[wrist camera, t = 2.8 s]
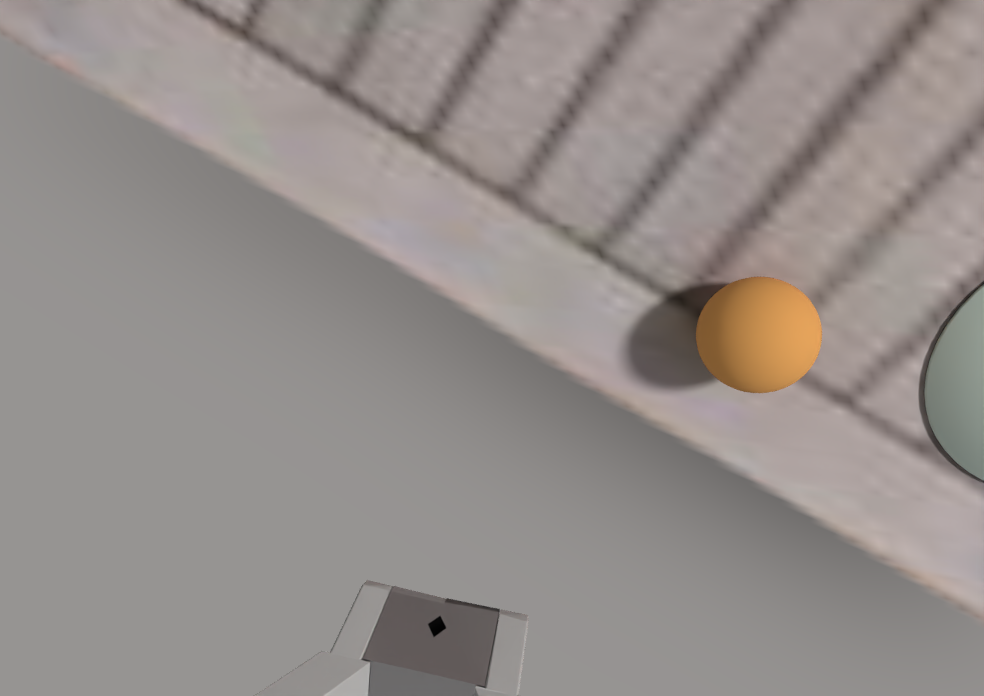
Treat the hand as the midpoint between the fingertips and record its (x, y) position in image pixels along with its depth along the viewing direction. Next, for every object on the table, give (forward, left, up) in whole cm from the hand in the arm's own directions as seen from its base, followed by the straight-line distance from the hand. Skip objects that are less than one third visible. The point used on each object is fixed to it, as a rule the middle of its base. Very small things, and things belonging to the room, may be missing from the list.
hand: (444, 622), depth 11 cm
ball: (+1, +9, -19) cm, 21 cm away
